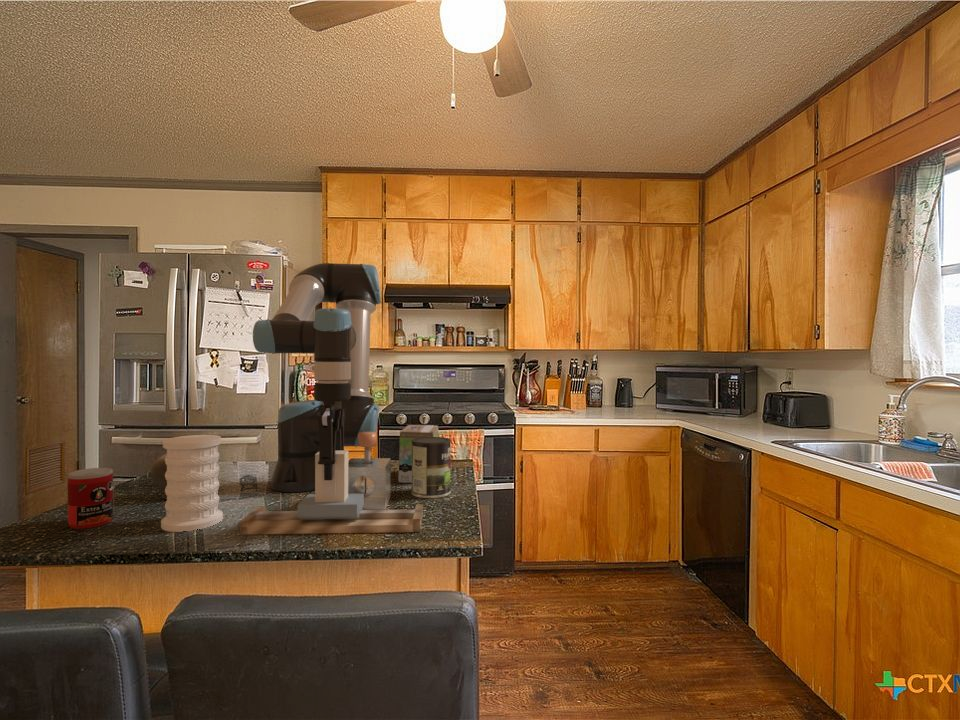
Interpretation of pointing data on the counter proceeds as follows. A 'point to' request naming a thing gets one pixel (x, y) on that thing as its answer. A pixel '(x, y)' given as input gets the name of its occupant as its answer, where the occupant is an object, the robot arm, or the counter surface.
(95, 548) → the counter surface
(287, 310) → the robot arm
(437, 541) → the counter surface
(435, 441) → the coffee can
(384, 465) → the box with ball knob
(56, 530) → the counter surface
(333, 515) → the carriage
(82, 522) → the canned food
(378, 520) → the rail track
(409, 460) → the tea box
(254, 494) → the counter surface
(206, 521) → the decorative container
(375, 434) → the plunger
